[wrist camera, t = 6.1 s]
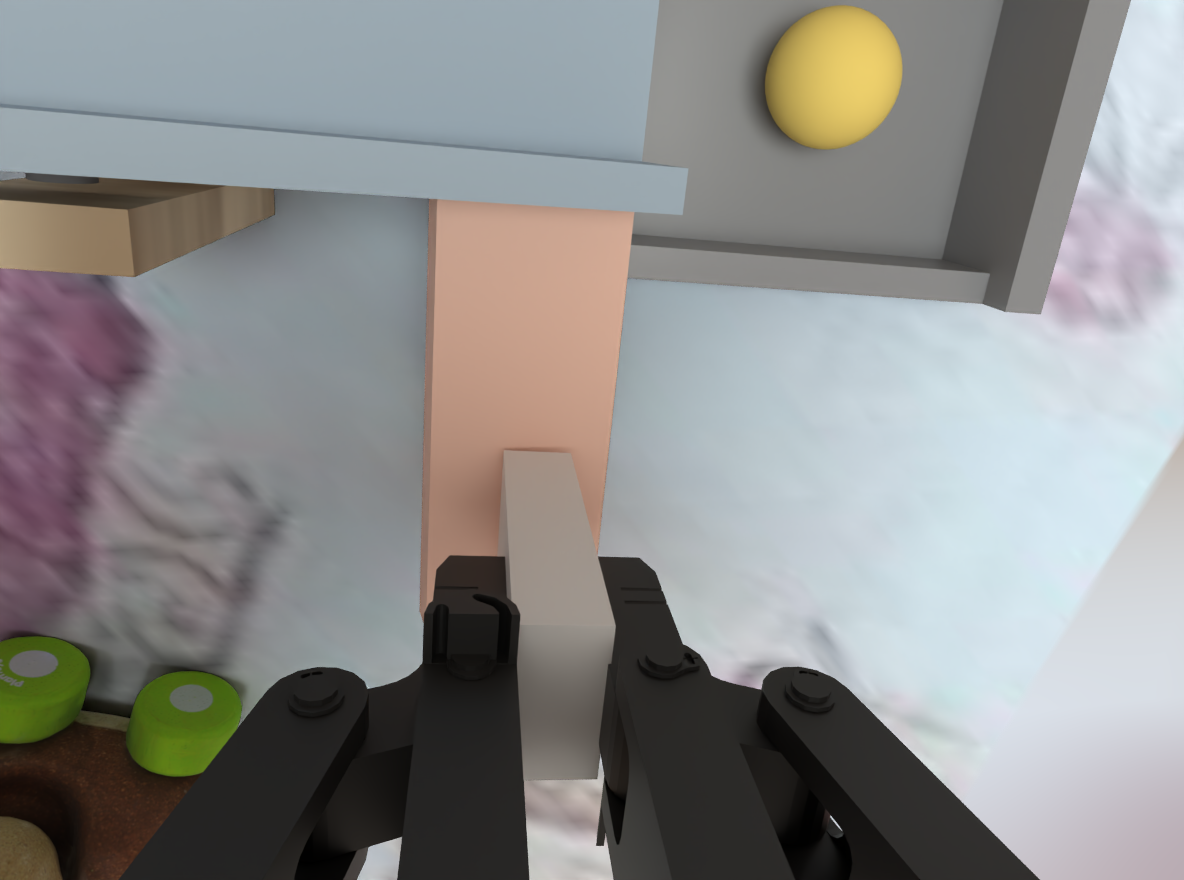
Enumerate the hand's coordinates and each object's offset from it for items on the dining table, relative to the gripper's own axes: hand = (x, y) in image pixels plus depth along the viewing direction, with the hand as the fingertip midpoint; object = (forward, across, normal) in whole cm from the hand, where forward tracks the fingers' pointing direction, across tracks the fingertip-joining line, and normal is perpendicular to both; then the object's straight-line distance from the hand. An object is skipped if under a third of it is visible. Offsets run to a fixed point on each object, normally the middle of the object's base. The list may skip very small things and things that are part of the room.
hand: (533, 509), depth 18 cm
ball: (+5, +7, +10) cm, 13 cm away
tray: (+7, +6, +10) cm, 13 cm away
